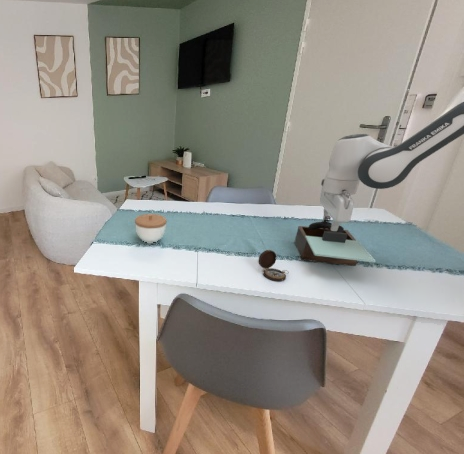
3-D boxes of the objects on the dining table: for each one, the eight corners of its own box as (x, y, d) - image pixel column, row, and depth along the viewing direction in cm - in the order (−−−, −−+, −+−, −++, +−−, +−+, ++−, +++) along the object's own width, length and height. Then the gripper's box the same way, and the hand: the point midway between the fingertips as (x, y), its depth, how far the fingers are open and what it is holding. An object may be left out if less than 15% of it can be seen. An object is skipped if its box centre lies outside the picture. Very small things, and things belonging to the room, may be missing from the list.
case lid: (357, 242, 94) (361, 232, 93) (375, 262, 83) (379, 251, 81) (305, 237, 100) (307, 227, 98) (314, 255, 88) (317, 244, 87)
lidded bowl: (132, 234, 126) (132, 211, 121) (160, 232, 127) (161, 208, 122) (138, 247, 114) (138, 222, 110) (169, 244, 115) (171, 219, 111)
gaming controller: (306, 226, 104) (317, 214, 104) (311, 234, 106) (322, 222, 106) (333, 236, 95) (346, 222, 95) (338, 245, 98) (351, 231, 98)
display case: (342, 247, 106) (347, 230, 104) (355, 266, 94) (362, 247, 92) (294, 242, 112) (298, 225, 109) (301, 259, 100) (306, 241, 97)
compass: (273, 283, 88) (278, 262, 85) (255, 270, 95) (258, 250, 92) (295, 278, 90) (300, 258, 87) (276, 266, 97) (280, 246, 94)
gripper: (364, 196, 84) (351, 238, 90) (342, 179, 102) (332, 216, 107) (338, 194, 87) (326, 236, 92) (320, 178, 104) (311, 214, 109)
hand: (329, 225), depth 100 cm, fingers closed on gaming controller, 7 cm apart
